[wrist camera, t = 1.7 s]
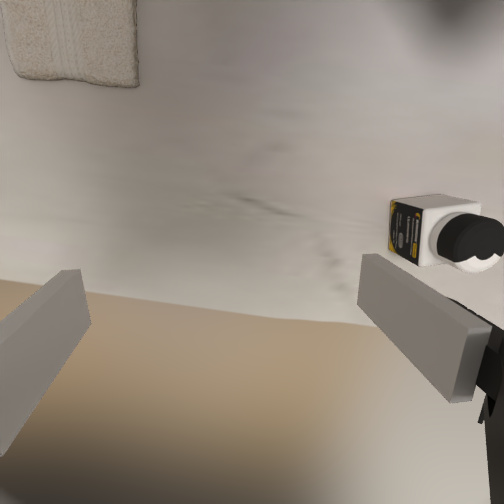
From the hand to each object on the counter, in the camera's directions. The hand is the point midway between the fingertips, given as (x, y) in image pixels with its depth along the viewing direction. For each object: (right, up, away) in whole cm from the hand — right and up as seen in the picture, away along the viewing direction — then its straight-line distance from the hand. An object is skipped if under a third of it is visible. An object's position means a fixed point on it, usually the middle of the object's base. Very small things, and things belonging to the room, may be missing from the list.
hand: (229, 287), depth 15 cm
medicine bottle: (+23, +6, +29) cm, 37 cm away
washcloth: (-16, +28, +16) cm, 36 cm away
